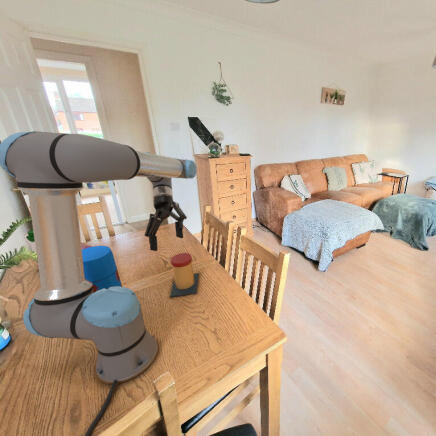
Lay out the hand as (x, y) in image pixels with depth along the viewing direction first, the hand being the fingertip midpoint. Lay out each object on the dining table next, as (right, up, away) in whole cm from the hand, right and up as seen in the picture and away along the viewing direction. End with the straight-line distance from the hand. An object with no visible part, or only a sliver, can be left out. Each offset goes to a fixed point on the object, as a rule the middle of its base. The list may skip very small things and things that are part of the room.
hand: (166, 244), depth 94 cm
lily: (-57, -9, +29) cm, 65 cm away
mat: (+3, -19, +11) cm, 22 cm away
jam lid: (+3, -7, +6) cm, 9 cm away
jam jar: (+3, -19, +11) cm, 21 cm away
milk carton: (-62, -13, +18) cm, 66 cm away
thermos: (-19, -25, -5) cm, 31 cm away
